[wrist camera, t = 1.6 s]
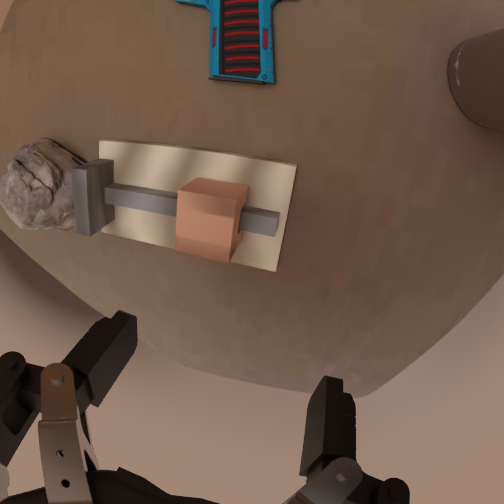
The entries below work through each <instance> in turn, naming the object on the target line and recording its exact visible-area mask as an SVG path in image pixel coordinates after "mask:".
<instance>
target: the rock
mask: <svg viewBox="0 0 504 504" xmlns="http://www.w3.org/2000/svg"><path fill="white" fill-rule="evenodd" d="M85 163H86V162H84V161H83V160H81V159H80V158H78V157H77V156H75V155H74V156H73V155H72V154H71V153H70V152H68V151H66V150H65V149H63V148H61V147H59V146H58V145H57V143H54V142H53V141H52V140H49V139H40V140H37V141H35V142H33V143H32V144H29V145H28V146H27V145H24V146H23V147H22V148H21V149H20V150H19V151H18V152H17V153H16V154H15V155H13V157H12V159H11V160H10V161H9V162H8V164H7V165H6V168H5V169H4V171H3V172H2V174H1V177H0V204H1V205H2V207H3V208H4V210H5V211H6V213H7V214H8V215H9V217H10V218H11V219H12V220H13V221H14V223H16V224H17V225H18V226H19V227H20V228H21V229H29V230H40V229H59V230H64V231H68V230H72V229H75V230H76V223H75V213H74V200H73V184H72V168H75V167H77V166H80V165H83V164H85Z"/></svg>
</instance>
